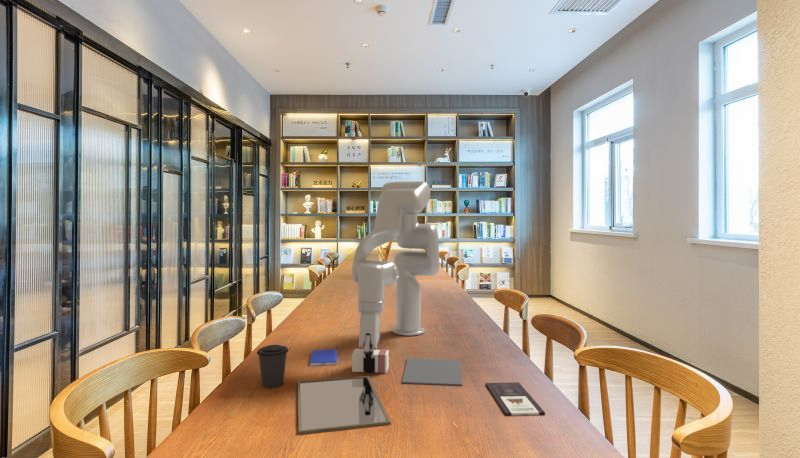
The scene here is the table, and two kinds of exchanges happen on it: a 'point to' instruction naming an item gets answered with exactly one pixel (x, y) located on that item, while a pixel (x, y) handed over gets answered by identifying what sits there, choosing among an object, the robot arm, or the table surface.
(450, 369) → the mat
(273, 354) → the coffee cup
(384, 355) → the card box
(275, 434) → the table surface
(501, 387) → the chocolate bar
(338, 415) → the picture frame
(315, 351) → the hard drive
